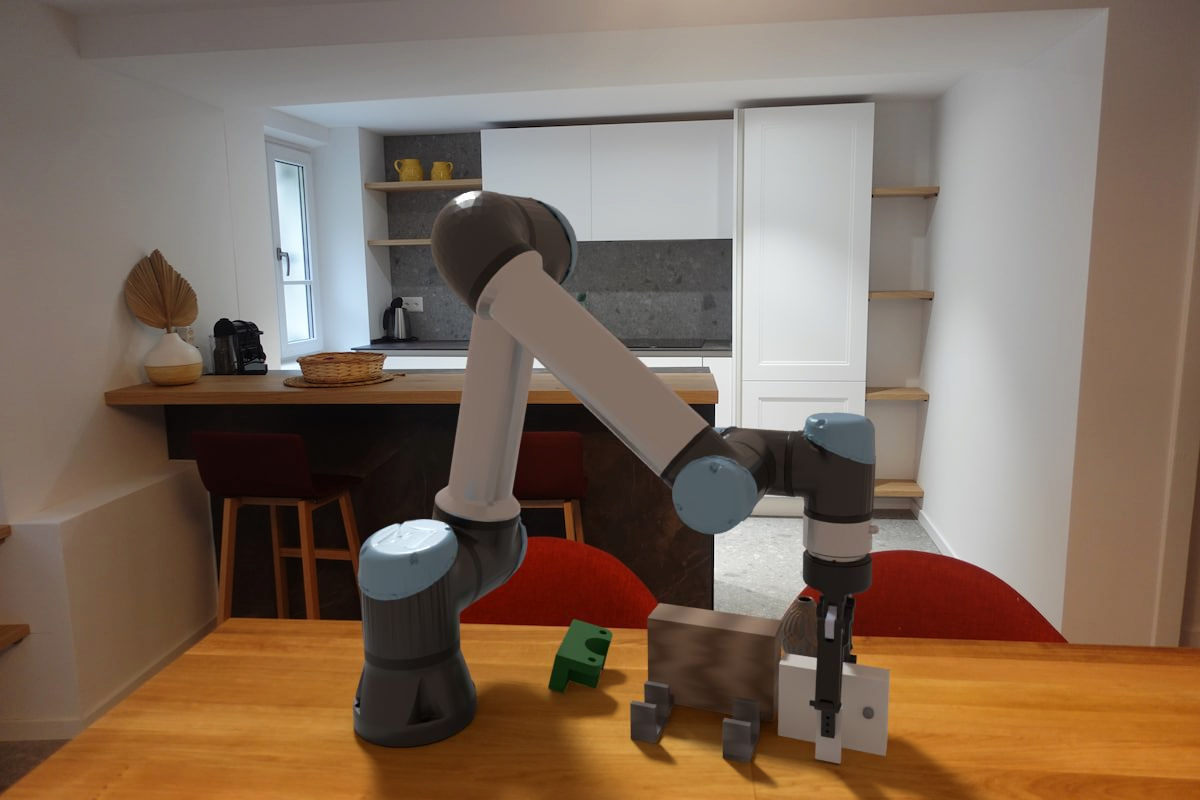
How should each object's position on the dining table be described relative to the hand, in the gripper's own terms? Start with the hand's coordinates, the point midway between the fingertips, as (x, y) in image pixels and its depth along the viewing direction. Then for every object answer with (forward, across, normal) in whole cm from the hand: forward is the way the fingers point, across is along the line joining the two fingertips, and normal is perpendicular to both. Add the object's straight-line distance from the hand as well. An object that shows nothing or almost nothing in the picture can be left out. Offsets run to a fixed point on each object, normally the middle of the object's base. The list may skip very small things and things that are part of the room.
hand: (833, 736), depth 94 cm
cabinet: (0, -1, +15) cm, 15 cm away
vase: (0, +20, +6) cm, 20 cm away
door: (0, 0, 0) cm, 0 cm away
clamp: (0, +4, +33) cm, 34 cm away
